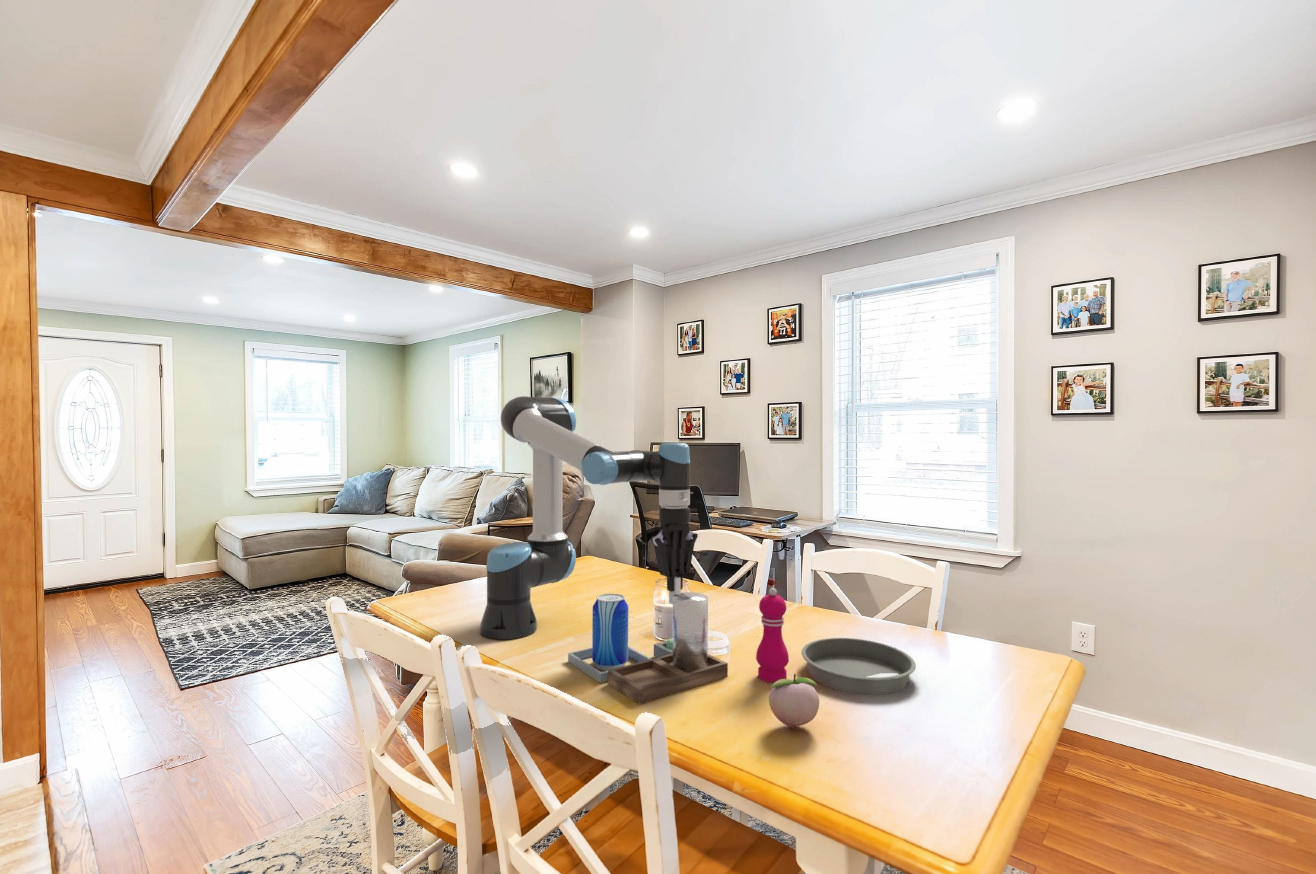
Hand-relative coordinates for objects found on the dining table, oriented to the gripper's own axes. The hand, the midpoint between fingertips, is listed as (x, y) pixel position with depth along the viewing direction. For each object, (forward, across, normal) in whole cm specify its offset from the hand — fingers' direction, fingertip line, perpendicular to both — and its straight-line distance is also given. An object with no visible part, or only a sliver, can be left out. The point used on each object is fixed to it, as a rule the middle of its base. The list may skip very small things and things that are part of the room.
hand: (674, 603), depth 146 cm
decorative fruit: (+14, -3, -41) cm, 43 cm away
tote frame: (+13, -15, +5) cm, 21 cm away
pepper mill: (+14, +11, -22) cm, 28 cm away
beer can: (+13, -15, +5) cm, 21 cm away
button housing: (+13, 0, 0) cm, 13 cm away
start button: (+13, 0, 0) cm, 13 cm away
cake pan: (+14, +28, -32) cm, 44 cm away
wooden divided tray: (+13, -9, -10) cm, 19 cm away
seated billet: (+12, -3, -10) cm, 16 cm away
